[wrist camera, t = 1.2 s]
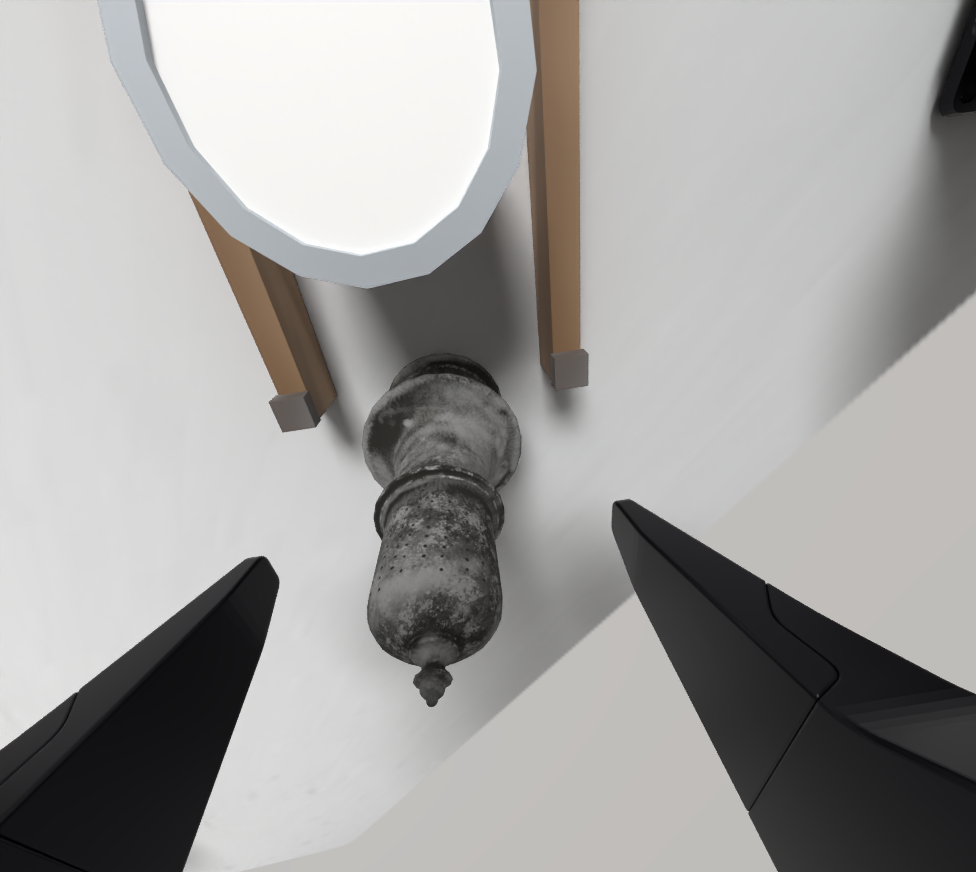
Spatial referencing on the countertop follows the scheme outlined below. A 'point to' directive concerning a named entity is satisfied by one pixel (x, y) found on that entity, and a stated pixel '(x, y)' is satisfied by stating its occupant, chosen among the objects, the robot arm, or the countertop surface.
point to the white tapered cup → (334, 121)
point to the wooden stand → (556, 243)
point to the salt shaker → (438, 513)
